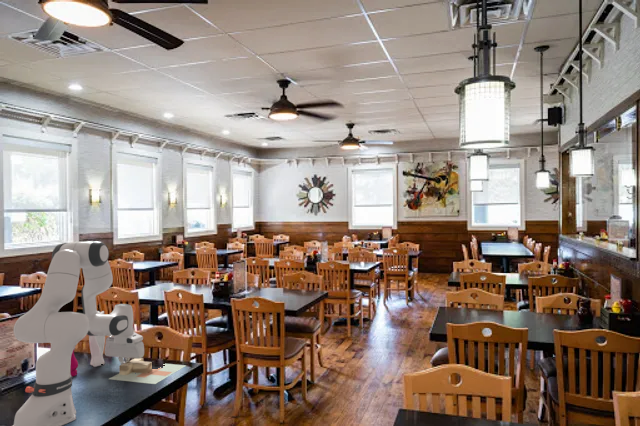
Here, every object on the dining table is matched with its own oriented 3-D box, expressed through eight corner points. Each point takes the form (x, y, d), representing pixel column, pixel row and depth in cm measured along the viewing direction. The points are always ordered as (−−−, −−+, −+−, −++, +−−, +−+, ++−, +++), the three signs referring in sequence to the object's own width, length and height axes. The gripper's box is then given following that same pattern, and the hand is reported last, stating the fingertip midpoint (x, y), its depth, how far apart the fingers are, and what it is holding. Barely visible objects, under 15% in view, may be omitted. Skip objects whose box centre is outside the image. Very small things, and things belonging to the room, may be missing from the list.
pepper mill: (59, 379, 205) (58, 335, 204) (61, 374, 211) (60, 332, 211) (77, 376, 208) (76, 333, 207) (79, 371, 214) (78, 330, 214)
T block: (141, 376, 205) (141, 367, 205) (119, 374, 209) (119, 365, 209) (157, 367, 217) (157, 359, 217) (136, 365, 220) (136, 357, 220)
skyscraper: (86, 364, 224) (85, 308, 224) (101, 360, 230) (100, 306, 230) (92, 367, 219) (91, 310, 219) (108, 363, 225) (107, 308, 224)
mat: (155, 384, 196) (155, 384, 196) (108, 379, 203) (108, 378, 203) (186, 366, 219) (186, 365, 219) (143, 362, 226) (143, 361, 226)
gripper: (101, 337, 215) (101, 366, 215) (137, 340, 209) (137, 369, 209) (110, 334, 221) (111, 362, 221) (145, 336, 215) (146, 365, 215)
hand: (124, 366), depth 215 cm, fingers closed
